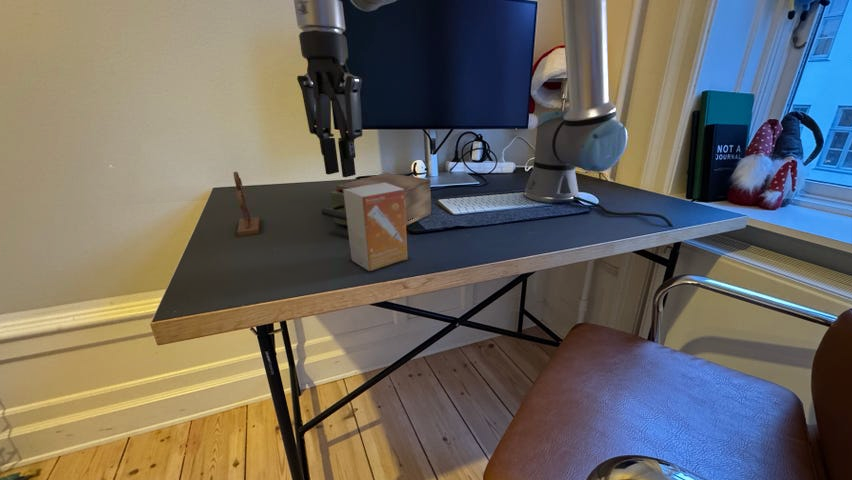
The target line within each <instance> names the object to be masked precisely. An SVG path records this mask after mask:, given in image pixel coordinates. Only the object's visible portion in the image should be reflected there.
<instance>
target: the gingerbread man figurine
mask: <svg viewBox="0 0 852 480" xmlns="http://www.w3.org/2000/svg"><path fill="white" fill-rule="evenodd" d="M233 179H234V183H235V187H236V189H237V191H236V194H237V199H238V204H239V208H240V210H241V211H242V215H243V218H239V220H238V226H237V231H236V233H237V236H238V237H242V236H251V235H258V234H260V218H259V217H258V216H254V217H252V216H250V213H249V209H248V206H247V204H246V199H245V193H244V187H243V183H242V179H241V177H240V175H239V172H238V171H233Z"/></svg>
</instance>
